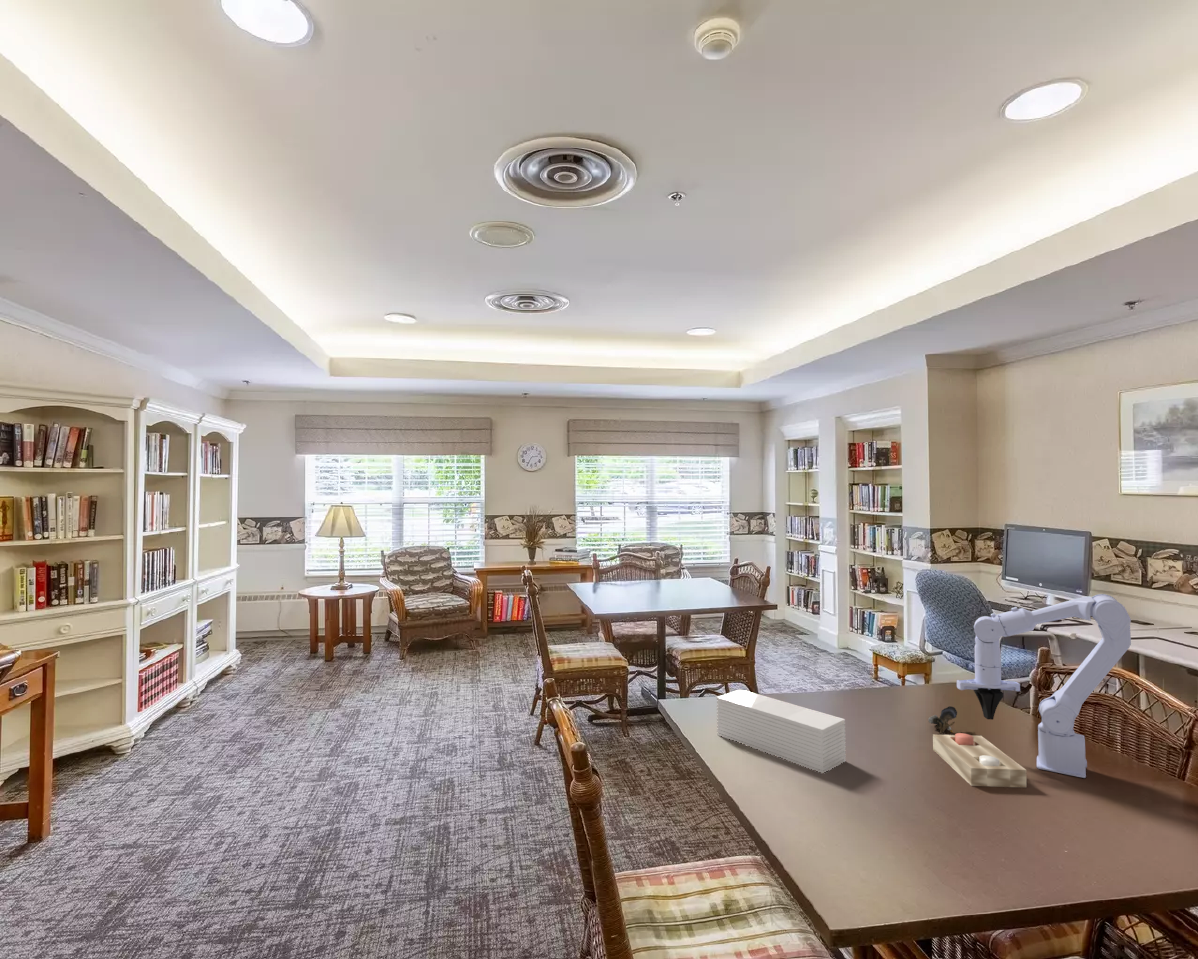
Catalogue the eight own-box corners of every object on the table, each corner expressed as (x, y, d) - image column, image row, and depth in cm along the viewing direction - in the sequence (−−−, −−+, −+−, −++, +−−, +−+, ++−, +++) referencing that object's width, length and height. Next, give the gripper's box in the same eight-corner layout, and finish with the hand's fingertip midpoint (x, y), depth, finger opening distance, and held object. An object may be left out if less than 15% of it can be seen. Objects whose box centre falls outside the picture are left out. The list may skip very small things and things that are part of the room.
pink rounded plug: (968, 750, 163) (968, 733, 163) (976, 757, 159) (976, 739, 159) (952, 750, 163) (952, 732, 163) (960, 757, 159) (959, 738, 159)
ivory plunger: (993, 774, 151) (993, 755, 151) (1003, 782, 147) (1002, 762, 147) (976, 774, 151) (976, 755, 151) (985, 781, 147) (984, 762, 147)
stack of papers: (845, 762, 159) (845, 719, 159) (823, 775, 152) (822, 729, 152) (740, 726, 183) (740, 688, 183) (717, 735, 176) (716, 696, 176)
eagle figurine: (964, 735, 172) (964, 718, 180) (947, 712, 173) (948, 696, 181) (937, 744, 176) (939, 728, 184) (921, 722, 177) (923, 706, 185)
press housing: (981, 751, 164) (981, 735, 164) (1026, 787, 144) (1026, 769, 144) (933, 749, 165) (932, 734, 165) (971, 785, 145) (971, 768, 145)
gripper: (1008, 660, 165) (1009, 713, 165) (950, 659, 167) (951, 711, 167) (1024, 668, 158) (1025, 723, 158) (963, 667, 160) (964, 721, 159)
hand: (988, 718), depth 162 cm, fingers closed
